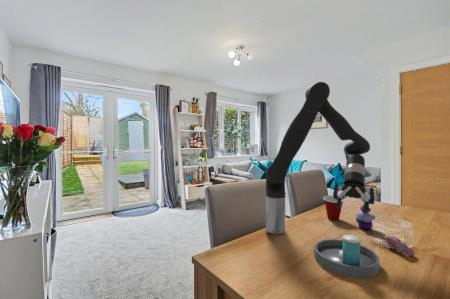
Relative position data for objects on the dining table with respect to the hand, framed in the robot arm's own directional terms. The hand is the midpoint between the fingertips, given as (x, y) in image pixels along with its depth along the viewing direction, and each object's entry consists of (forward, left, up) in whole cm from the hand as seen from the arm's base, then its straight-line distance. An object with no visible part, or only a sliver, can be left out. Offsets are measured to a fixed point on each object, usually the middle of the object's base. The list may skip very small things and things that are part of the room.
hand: (352, 210), depth 86 cm
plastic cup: (+3, +41, -18) cm, 45 cm away
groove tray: (-4, -6, -17) cm, 19 cm away
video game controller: (+19, +7, -18) cm, 27 cm away
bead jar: (-4, -11, -16) cm, 20 cm away
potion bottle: (+15, +29, -18) cm, 37 cm away
